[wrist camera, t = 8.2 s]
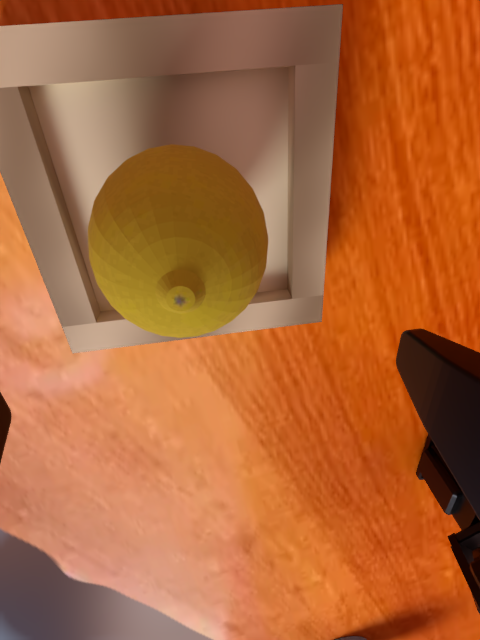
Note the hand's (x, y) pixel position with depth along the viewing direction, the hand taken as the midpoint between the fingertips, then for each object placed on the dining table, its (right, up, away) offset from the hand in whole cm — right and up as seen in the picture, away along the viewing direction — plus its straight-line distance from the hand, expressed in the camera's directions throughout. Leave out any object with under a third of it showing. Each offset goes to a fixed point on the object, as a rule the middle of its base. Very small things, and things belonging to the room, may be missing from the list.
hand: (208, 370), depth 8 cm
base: (-2, +7, +9) cm, 12 cm away
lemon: (-2, +6, +7) cm, 9 cm away
